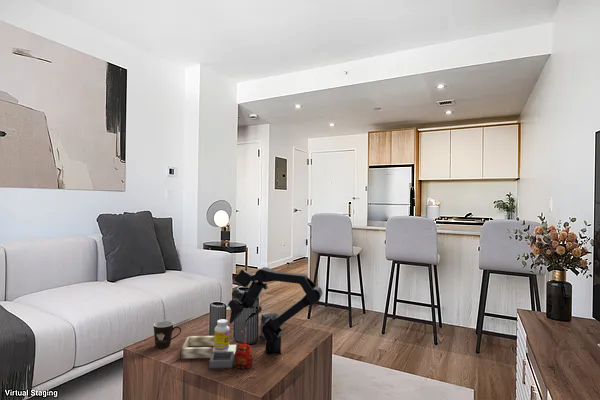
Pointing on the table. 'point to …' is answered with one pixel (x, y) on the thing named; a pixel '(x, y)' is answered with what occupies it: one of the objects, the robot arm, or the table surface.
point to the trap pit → (221, 360)
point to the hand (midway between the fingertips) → (236, 322)
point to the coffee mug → (163, 333)
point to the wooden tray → (197, 351)
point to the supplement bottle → (221, 336)
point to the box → (264, 318)
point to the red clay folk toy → (243, 355)
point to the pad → (231, 348)
